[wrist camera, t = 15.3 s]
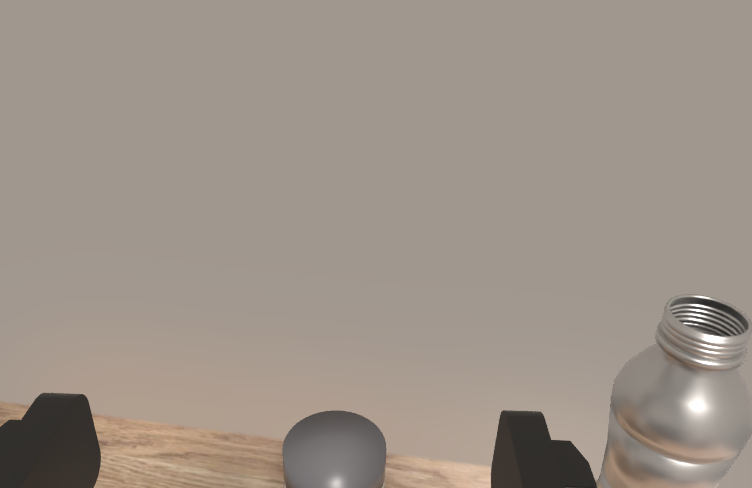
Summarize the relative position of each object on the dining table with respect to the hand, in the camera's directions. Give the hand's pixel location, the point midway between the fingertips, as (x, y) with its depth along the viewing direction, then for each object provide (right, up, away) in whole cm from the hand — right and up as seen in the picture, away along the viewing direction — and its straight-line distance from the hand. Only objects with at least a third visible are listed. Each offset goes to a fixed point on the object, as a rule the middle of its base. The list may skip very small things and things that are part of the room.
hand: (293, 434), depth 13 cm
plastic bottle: (+16, -17, +27) cm, 36 cm away
